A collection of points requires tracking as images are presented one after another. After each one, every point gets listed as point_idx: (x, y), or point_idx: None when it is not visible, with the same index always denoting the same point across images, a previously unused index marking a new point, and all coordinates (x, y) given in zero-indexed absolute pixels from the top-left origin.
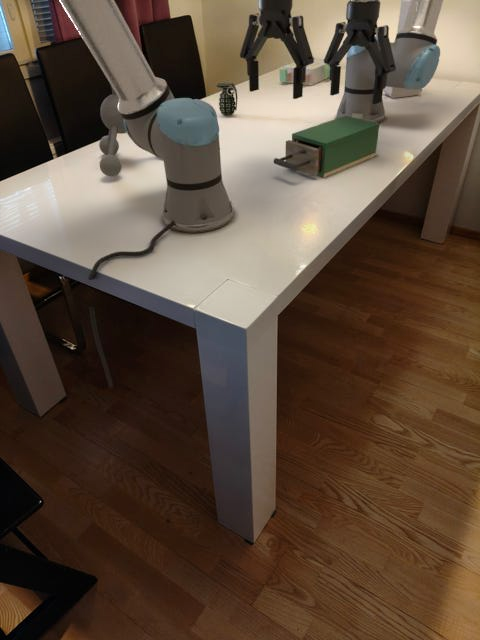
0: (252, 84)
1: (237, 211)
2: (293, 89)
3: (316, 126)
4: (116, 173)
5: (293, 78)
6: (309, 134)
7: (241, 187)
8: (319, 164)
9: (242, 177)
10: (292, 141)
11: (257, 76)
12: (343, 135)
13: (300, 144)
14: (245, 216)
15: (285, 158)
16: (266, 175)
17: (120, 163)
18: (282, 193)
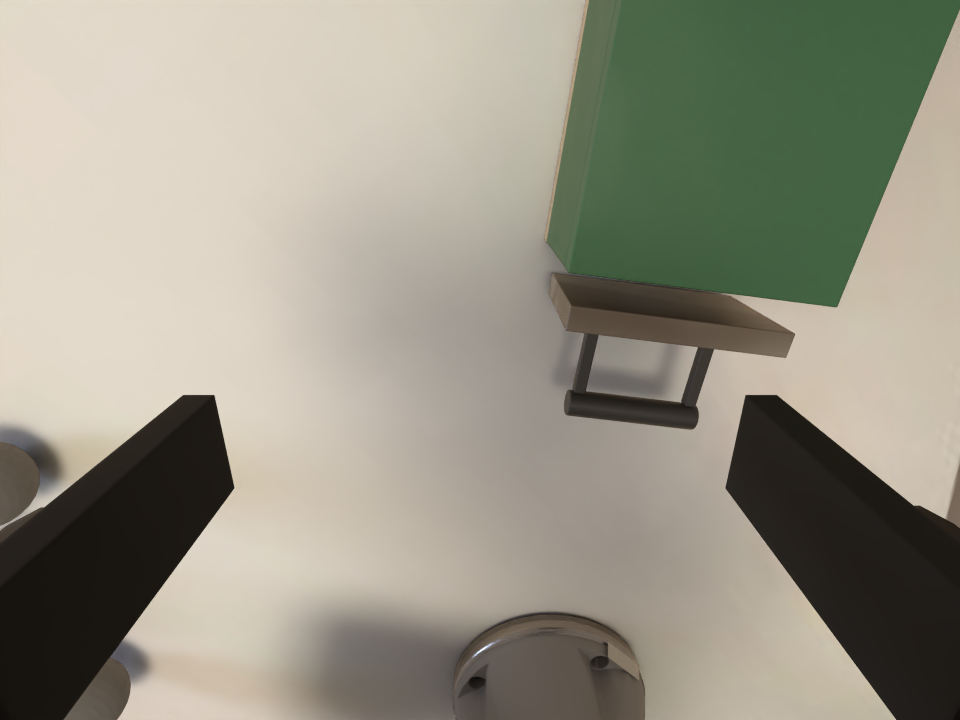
0: (199, 517)
1: (614, 613)
2: (769, 541)
3: (634, 34)
4: (129, 681)
5: (833, 632)
6: (675, 224)
7: (510, 502)
8: None
9: (450, 441)
10: (604, 317)
11: (139, 485)
12: (897, 112)
13: (669, 331)
14: (653, 621)
15: (592, 358)
16: (515, 378)
17: (102, 689)
18: (665, 465)
